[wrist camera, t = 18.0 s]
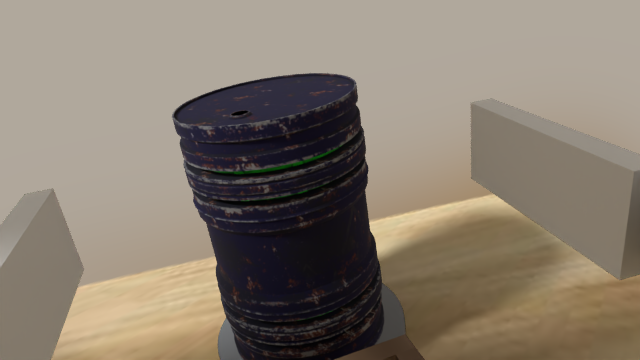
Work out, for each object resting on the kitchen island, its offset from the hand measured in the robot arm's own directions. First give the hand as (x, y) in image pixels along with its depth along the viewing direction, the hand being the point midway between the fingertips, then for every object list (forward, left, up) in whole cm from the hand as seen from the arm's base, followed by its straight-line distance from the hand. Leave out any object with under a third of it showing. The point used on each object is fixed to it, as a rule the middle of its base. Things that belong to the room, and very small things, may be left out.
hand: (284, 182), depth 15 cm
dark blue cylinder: (+2, +11, -15) cm, 19 cm away
